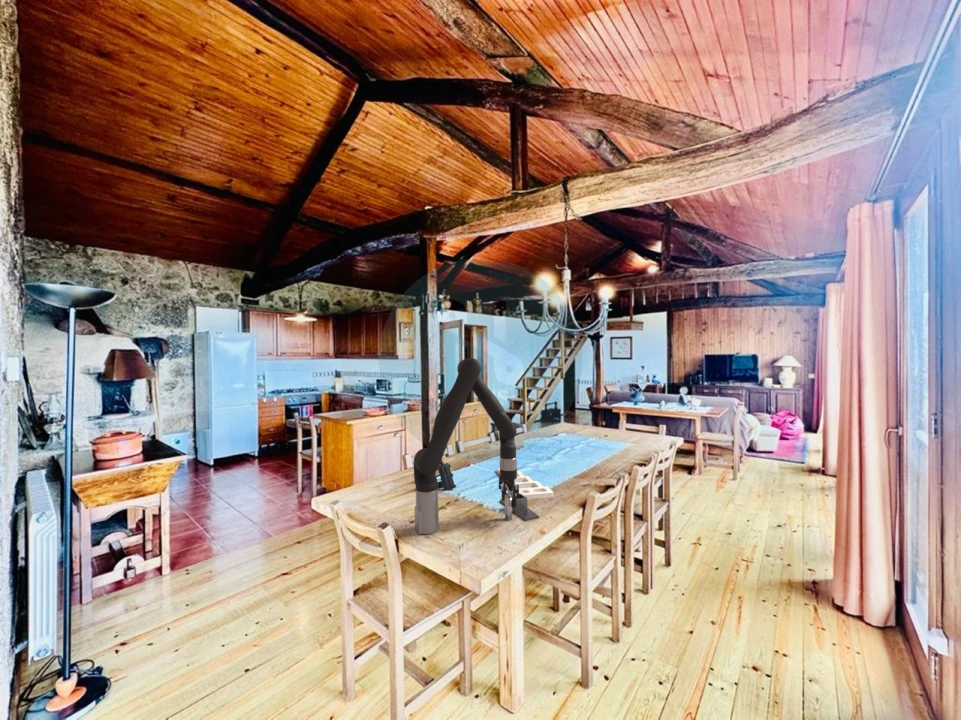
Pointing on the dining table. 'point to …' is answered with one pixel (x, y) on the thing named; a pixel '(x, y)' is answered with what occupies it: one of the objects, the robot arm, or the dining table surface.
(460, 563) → the dining table surface
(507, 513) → the pin
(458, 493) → the dining table surface
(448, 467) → the gun
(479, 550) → the dining table surface
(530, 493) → the holder
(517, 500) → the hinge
